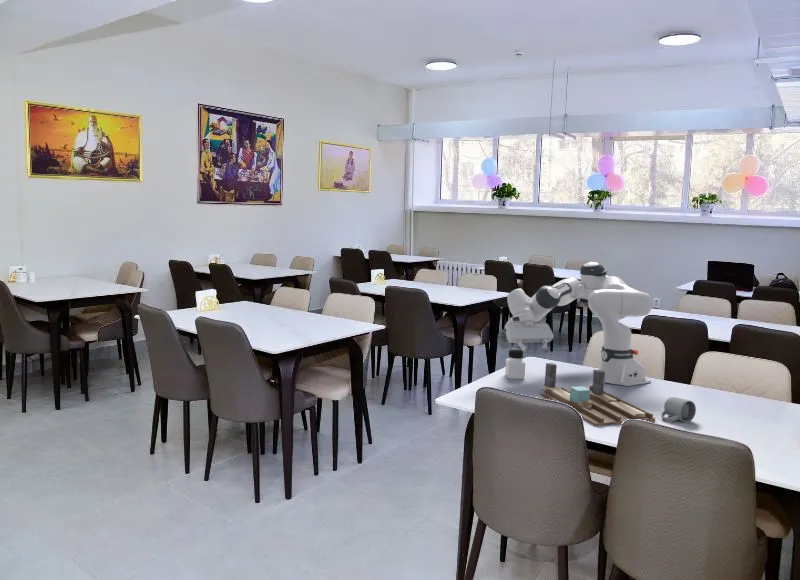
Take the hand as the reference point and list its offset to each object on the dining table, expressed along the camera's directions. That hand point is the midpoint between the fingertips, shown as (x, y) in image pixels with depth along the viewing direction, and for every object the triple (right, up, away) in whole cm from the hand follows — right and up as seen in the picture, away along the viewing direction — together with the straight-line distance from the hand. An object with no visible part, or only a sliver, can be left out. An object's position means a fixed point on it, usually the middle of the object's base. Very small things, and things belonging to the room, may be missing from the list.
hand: (535, 350), depth 265 cm
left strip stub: (+21, -17, -22) cm, 34 cm away
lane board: (+16, -18, -28) cm, 37 cm away
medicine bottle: (-6, -13, +11) cm, 18 cm away
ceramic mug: (+41, -21, -39) cm, 61 cm away
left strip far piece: (+25, -18, -35) cm, 47 cm away
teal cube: (+10, -16, -30) cm, 35 cm away
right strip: (+7, -16, -21) cm, 27 cm away
